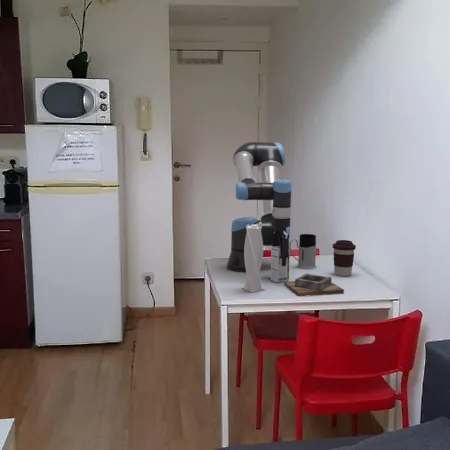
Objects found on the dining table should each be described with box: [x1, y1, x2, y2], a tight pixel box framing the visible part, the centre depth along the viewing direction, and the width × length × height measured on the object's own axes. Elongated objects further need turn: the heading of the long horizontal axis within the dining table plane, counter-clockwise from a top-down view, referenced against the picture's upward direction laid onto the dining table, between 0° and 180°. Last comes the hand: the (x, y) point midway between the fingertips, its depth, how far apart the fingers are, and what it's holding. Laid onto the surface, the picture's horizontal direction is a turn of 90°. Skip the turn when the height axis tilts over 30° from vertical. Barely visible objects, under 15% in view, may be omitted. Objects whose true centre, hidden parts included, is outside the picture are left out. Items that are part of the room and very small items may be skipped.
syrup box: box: [270, 246, 291, 283], centre depth 240 cm, size 6×6×14 cm
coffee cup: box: [332, 239, 357, 277], centre depth 252 cm, size 10×10×15 cm
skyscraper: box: [241, 222, 266, 293], centre depth 224 cm, size 8×8×28 cm
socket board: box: [283, 273, 345, 297], centre depth 228 cm, size 16×19×4 cm
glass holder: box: [289, 233, 317, 270], centre depth 264 cm, size 9×14×15 cm, turn 117°
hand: (279, 271), depth 241 cm, fingers closed on syrup box, 6 cm apart
